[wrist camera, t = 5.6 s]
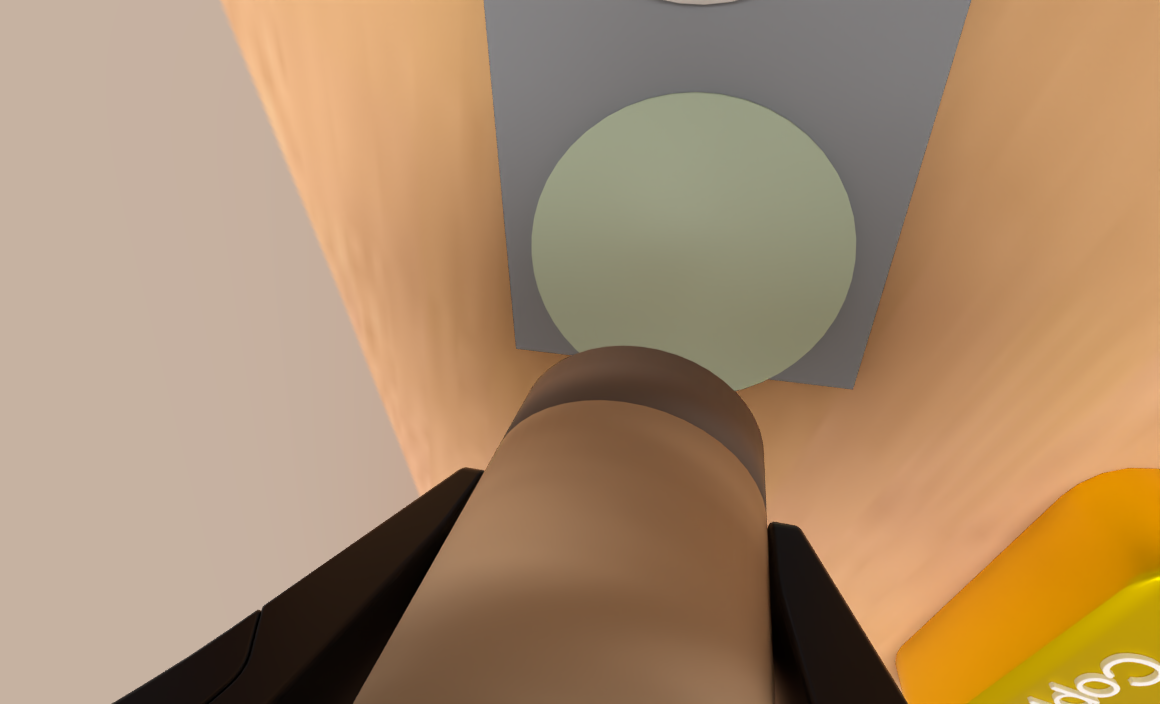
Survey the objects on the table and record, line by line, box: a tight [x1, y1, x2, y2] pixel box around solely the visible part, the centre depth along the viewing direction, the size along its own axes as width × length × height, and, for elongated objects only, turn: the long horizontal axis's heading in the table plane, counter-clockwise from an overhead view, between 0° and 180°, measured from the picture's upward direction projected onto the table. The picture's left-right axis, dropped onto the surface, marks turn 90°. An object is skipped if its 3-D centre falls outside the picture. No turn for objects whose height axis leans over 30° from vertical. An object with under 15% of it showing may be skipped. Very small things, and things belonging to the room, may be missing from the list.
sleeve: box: [353, 346, 775, 704], centre depth 7 cm, size 4×4×7 cm
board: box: [484, 0, 971, 391], centre depth 13 cm, size 12×22×5 cm, turn 1°
